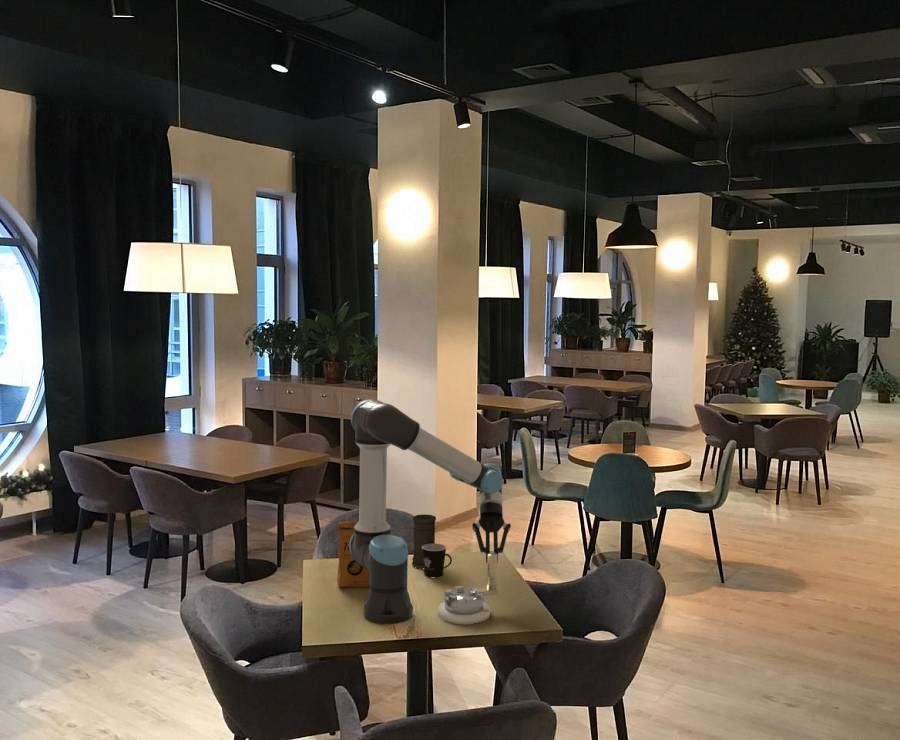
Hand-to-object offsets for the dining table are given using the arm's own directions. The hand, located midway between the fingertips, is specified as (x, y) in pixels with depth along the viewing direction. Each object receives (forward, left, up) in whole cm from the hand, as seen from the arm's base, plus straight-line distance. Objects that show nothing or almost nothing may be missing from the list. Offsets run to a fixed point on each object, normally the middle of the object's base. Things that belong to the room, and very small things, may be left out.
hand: (492, 571), depth 260 cm
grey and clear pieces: (-9, +1, -9) cm, 13 cm away
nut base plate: (-11, +2, -11) cm, 16 cm away
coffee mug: (+9, +32, -11) cm, 35 cm away
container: (+15, +43, -11) cm, 47 cm away
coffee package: (-16, +46, -11) cm, 50 cm away
